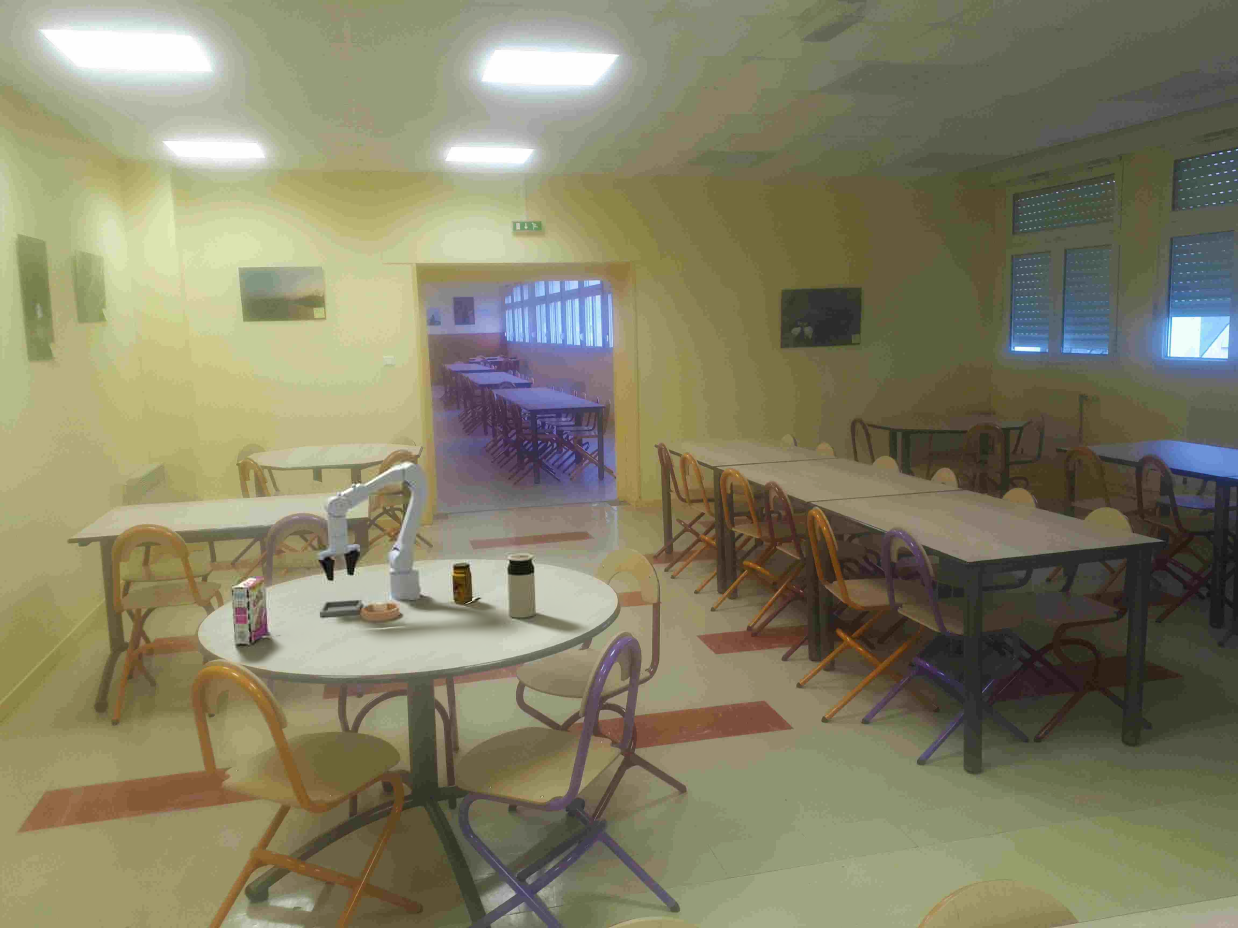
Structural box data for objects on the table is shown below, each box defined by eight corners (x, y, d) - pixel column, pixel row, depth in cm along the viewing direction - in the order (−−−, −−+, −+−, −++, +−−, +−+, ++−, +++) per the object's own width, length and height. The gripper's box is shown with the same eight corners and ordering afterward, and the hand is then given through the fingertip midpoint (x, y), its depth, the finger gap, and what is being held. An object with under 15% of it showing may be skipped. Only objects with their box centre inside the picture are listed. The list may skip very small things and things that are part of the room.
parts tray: (362, 605, 280) (361, 599, 280) (358, 615, 270) (357, 609, 269) (325, 608, 278) (325, 602, 278) (320, 618, 268) (319, 612, 267)
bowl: (400, 610, 274) (400, 601, 274) (398, 621, 263) (397, 611, 263) (364, 613, 272) (363, 603, 272) (360, 623, 262) (359, 614, 261)
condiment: (447, 603, 282) (446, 566, 280) (462, 595, 290) (460, 560, 288) (467, 605, 279) (466, 567, 277) (481, 597, 287) (480, 561, 285)
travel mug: (531, 619, 263) (529, 559, 261) (505, 618, 265) (503, 559, 262) (538, 611, 271) (537, 553, 268) (513, 610, 272) (511, 552, 270)
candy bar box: (252, 645, 244) (248, 587, 242) (234, 645, 244) (229, 587, 242) (269, 632, 255) (265, 577, 253) (252, 632, 255) (248, 577, 253)
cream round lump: (387, 612, 270) (387, 600, 270) (387, 615, 266) (386, 604, 266) (374, 613, 269) (373, 601, 269) (373, 617, 265) (372, 605, 265)
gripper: (348, 529, 285) (351, 570, 287) (310, 537, 273) (312, 581, 275) (363, 531, 281) (365, 573, 283) (324, 540, 269) (327, 584, 271)
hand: (340, 577), depth 279 cm, fingers open, 7 cm apart
